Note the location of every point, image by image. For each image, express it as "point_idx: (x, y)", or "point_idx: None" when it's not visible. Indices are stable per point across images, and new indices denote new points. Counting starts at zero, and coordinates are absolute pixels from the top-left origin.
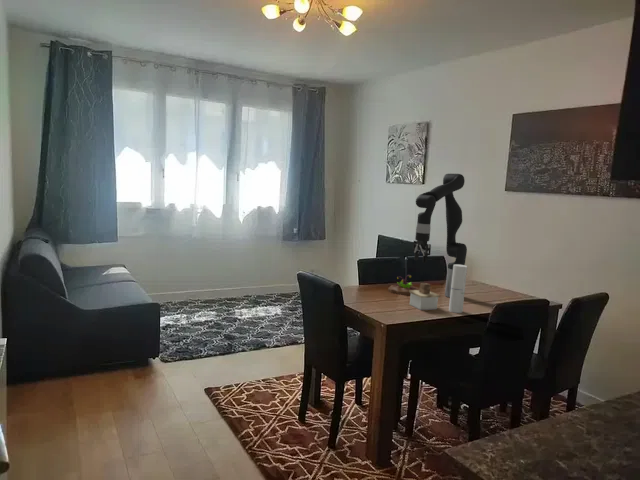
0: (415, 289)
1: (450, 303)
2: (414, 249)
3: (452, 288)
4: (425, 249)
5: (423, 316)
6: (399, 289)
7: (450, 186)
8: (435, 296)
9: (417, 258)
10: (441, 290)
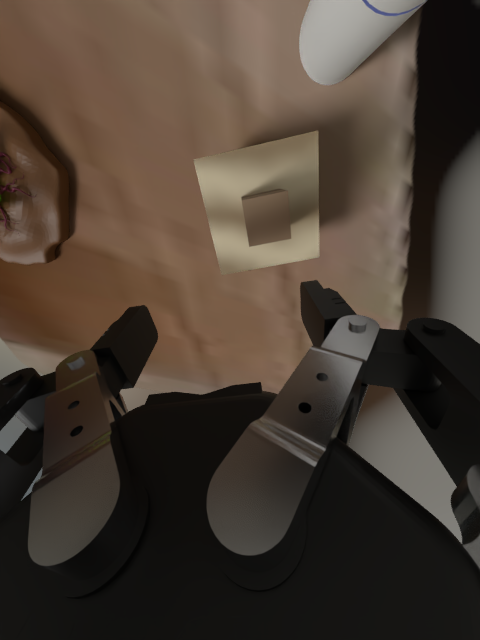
0: None
1: (344, 68)
2: (42, 425)
3: (395, 8)
4: (447, 468)
5: (369, 258)
6: (36, 230)
7: None
8: (316, 168)
9: (142, 320)
10: None
